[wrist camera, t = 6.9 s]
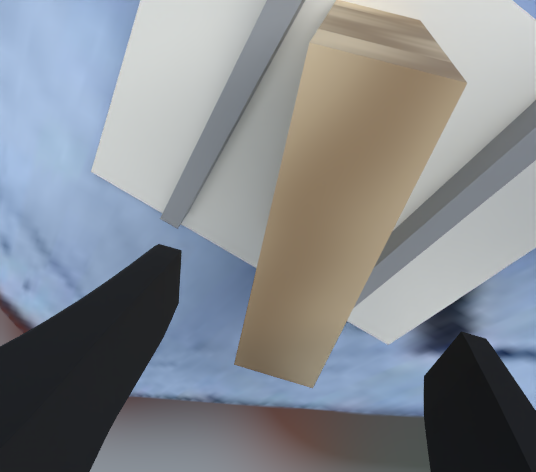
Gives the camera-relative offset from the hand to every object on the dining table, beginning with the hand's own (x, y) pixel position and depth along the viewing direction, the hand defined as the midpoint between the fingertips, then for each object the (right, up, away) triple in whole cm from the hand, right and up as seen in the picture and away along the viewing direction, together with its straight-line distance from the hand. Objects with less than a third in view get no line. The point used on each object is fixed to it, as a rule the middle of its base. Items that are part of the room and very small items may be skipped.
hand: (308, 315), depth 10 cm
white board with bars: (+2, +6, +8) cm, 10 cm away
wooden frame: (+2, +6, +7) cm, 9 cm away
